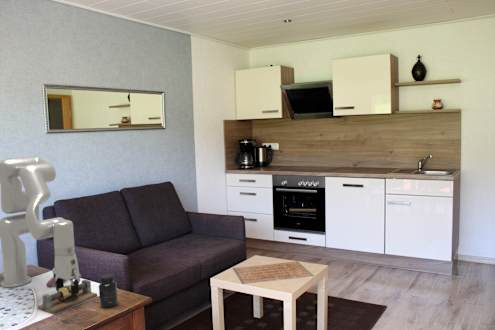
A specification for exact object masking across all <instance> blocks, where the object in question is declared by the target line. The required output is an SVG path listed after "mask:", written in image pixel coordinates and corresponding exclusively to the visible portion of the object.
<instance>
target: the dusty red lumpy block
mask: <svg viewBox="0 0 495 330" xmlns="http://www.w3.org/2000/svg"><path fill="white" fill-rule="evenodd" d="M64 280H65V279H63V281H64ZM54 285H55V286H56V281H55V277H54V276H52V277H51V278H50V279H49V280H47V282H46V287H53V286H54Z"/></svg>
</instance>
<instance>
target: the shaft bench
mask: <svg viewBox="0 0 495 330" xmlns="http://www.w3.org/2000/svg"><path fill="white" fill-rule="evenodd" d="M78 285H79V293H78V294H77V295H75V296H72V297H70V298H68V299H65V300H60V299H59V298H61V294H60V292H58V293H57V292H55V293H53V294H51V295H50V294H47V293H45V294H43V295H42V296H41V297H42V303H41V304H38V305H37V310H40V311H43V312H45V313H48V314H52V315H53V316H54V315H55V316H56V315H57V314H59V313H62V312H64V311H66V310H68V309H69V310H70V309H72V308H73V307H76V306H78V305H80V304H83V303H85V302H88V301H90V300H92V299H94V298H97V297H98V293H97V292H92V284H91V280H89V279H82V280H81V283H79V284H78Z"/></svg>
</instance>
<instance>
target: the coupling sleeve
mask: <svg viewBox="0 0 495 330" xmlns="http://www.w3.org/2000/svg"><path fill="white" fill-rule="evenodd" d="M71 285H72V284H71V283H70V284H67V285H64V287H62V288H59V289H58V291H57V290H56V291H57V292H56V293H58V292H60V294H61V298H59V299H60V300H65V299H68V298H70V297H72V296H75V295H77V294H78V293H77V294H75V295H71Z"/></svg>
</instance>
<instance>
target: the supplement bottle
mask: <svg viewBox="0 0 495 330" xmlns="http://www.w3.org/2000/svg"><path fill="white" fill-rule="evenodd" d="M114 280H115V279H114V274H111V273H106V274H103V275H101V276H100V283H99V285H98V292H99V293H98V296H99V306H100V307H101V308H102V309H103V308H104V309H109V308H114V307H115V306H117V305H118V303H119V301H118V299H119V298H118V287H117V285H118V284H117V282H116V281H114Z"/></svg>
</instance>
